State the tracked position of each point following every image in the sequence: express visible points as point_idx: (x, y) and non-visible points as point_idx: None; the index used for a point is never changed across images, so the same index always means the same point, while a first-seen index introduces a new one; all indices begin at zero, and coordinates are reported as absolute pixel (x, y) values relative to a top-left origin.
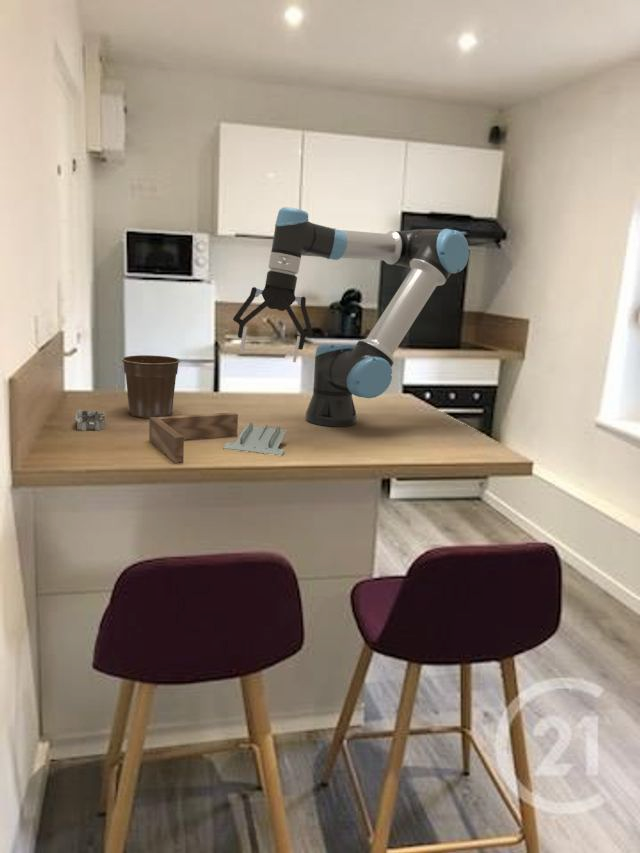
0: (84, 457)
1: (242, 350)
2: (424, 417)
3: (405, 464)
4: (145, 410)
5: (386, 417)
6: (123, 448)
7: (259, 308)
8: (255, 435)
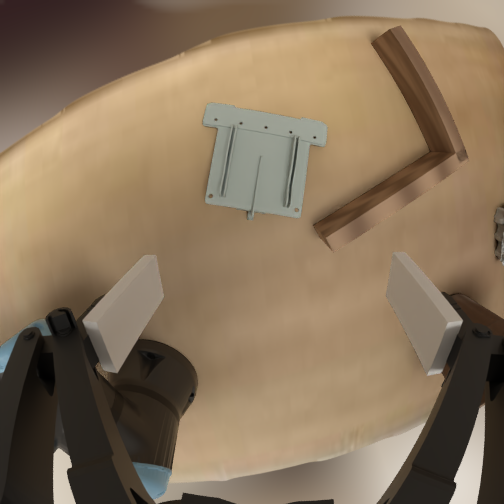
0: (480, 72)
1: (396, 254)
2: None
3: (19, 141)
4: (462, 298)
5: None
6: (461, 113)
7: (441, 457)
8: (272, 175)
